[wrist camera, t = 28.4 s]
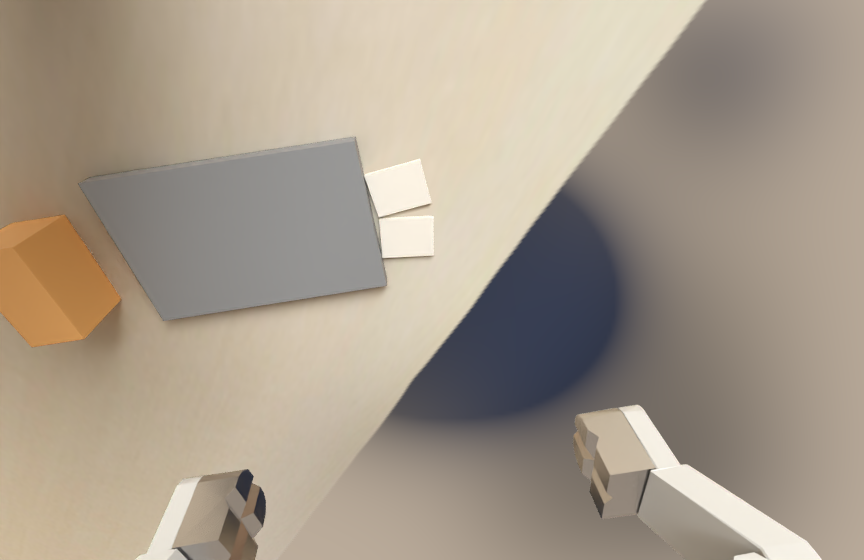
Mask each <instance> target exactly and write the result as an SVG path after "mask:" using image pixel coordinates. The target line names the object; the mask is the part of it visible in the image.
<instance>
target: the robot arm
mask: <svg viewBox="0 0 864 560" xmlns="http://www.w3.org/2000/svg"><path fill="white" fill-rule="evenodd" d="M575 426H576V428H577V430H578V431H577V432H576V433H575V434H574V436H573V447H574V453H575V457H576V460H577V463H578V466H579V468H580V470H581V473H582V474H583V475H584V476H585V477H587V478H588V479H589V480H591V484H590V494H591V496H592V498H593V500H594V503H595V505H596V508H597V510H598V512H599V515H600V517H601V519H606V518H614V517H621V516H629V515H636V514H638V517H639V518H640V519H641V520H642V521H643V522H644V523H645V524H646V525H647V526H649V527H650V528H651V529H652V530H653V531H654V532H655V533H656V534H657V535H658V536H660V537H661V538H662V539H663V540H664V541H665V542H666V543H667V544H668V545H669V546H671V547H672V548H673V549H674V550H675V551H676V552H677V553H678V554H679V555H680V556H682V557H683V558H684V559H685V560H822V559H821V558H820V557H819V555H818V554H817V553H816V552H815V550H814V549H813V548H812V547H811V546H810V544H809V543H808V542H807V541H805V540H804V539H802V538H801V537H799V536H798V535H796V534H795V533H793V532H791V531H790V530H788V529H787V528H785V527H784V526H782V525H781V524H779V523H777V522H776V521H774V520H773V519H771V518H769V517H768V516H767V515H765V514H763V513H762V512H760V511H759V510H757V509H756V508H754V507H753V506H751V505H749V504H748V503H746V502H745V501H743V500H742V499H740V498H739V497H737V496H735V495H734V494H732V493H731V492H729V491H728V490H726V489H725V488H723V487H722V486H720V485H718V484H717V483H715V482H714V481H712V480H711V479H709V478H708V477H706V476H704V475H703V474H701V473H700V472H698V471H697V470H695V469H694V468H692V467H690V466H689V465H687V464H684V465H680V464H679V462H678V461H677V459H676V458H675V456H674V454H673V453H672V452H671V450H670V448H669V447H668V446H667V444H666V442H665V441H664V440H663V438H662V437H661V435H660V433H659V432H658V430H657V429H656V427H655V426H654V424H653V423H652V421H651V420H650V418H649V417H648V416H647V414H646V412H645V411H644V409H643V408H642V407H640V406H639V405H631V406H626V407H621V408H612V409H606V410H600V411H594V412H589V413H583V414H578V415H577V416H576V417H575ZM253 477H254V476H253V475H252V474H251V472H250V471H249V470H248V469H245V470H239V471H232V472H225V473H219V474H212V475H204V476H198V477H192V478H186V479H182V481H181V482H180V483H179V484H178V485H177V486H176V488H175V490H174V493H173V495H172V497H171V499H170V502H169V504H168V506H167V508H166V511H165V513H164V515H163V517H162V520H161V522H160V524H159V526H158V528H157V531H156V533H155V535H154V537H153V540H152V542H151V544H150V546H149V549H148V551H147V553H146V554H141V555H139V556H138V557H137V558H136V559H135V560H255V557H256V553H257V549H258V545H257V543H256V541H255V539H254V537H255V536H256V534H257V533H258V532H259V531H260V529H261V528H262V527H263V523H264V519H265V514H266V500H265V496H264V492H263V491H262V489H261V487H260V486H257V485H255V484H253V483H252V481H253Z"/></svg>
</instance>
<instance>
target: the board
mask: <svg viewBox="0 0 864 560" xmlns="http://www.w3.org/2000/svg"><path fill="white" fill-rule="evenodd" d="M78 185H79V186H80V188H81V190H82V191H83V193H84V194H85V196H86V198H87V199H88V201H89V202H90V204H91V206H92V207H93V209H94V210H95V212H96V214H97V215H98V217H99V218H100V220H101V222H102V223H103V225H104V226H105V228H106V230H107V231H108V233H109V234H110V236H111V238H112V239H113V241H114V242H115V244H116V246H117V247H118V249H119V250H120V252H121V254H122V255H123V257H124V259H125V260H126V262H127V263H128V265H129V267H130V268H131V270H132V271H133V273H134V275H135V276H136V278H137V279H138V281H139V283H140V284H141V286H142V287H143V289H144V291H145V292H146V294H147V295H148V297H149V299H150V300H151V302H152V303H153V305H154V307H155V308H156V310H157V311H158V313H159V315H160V316H161V318H162V319H163V321H166V320H173V319H179V318H185V317H192V316H198V315H204V314H211V313H217V312H223V311H230V310H236V309H242V308H249V307H255V306H261V305H268V304H274V303H280V302H287V301H293V300H299V299H306V298H312V297H318V296H325V295H331V294H337V293H344V292H350V291H356V290H363V289H369V288H375V287H382V286H387V277H386V272H385V268H384V263H383V259H382V254H381V250H380V245H379V241H378V236H377V232H376V227H375V223H374V218H373V214H372V209H371V205H370V200H369V196H368V191H367V187H366V182H365V178H364V173H363V169H362V164H361V160H360V155H359V151H358V146H357V142H356V137H350V138H343V139H337V140H330V141H324V142H317V143H310V144H304V145H297V146H291V147H284V148H278V149H271V150H265V151H258V152H252V153H245V154H239V155H232V156H226V157H219V158H213V159H206V160H200V161H193V162H187V163H180V164H173V165H167V166H160V167H154V168H147V169H141V170H134V171H128V172H121V173H115V174H108V175H102V176H95V177H89V178H87V179H85V180H84V181H82V182H80V183H78Z"/></svg>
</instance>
